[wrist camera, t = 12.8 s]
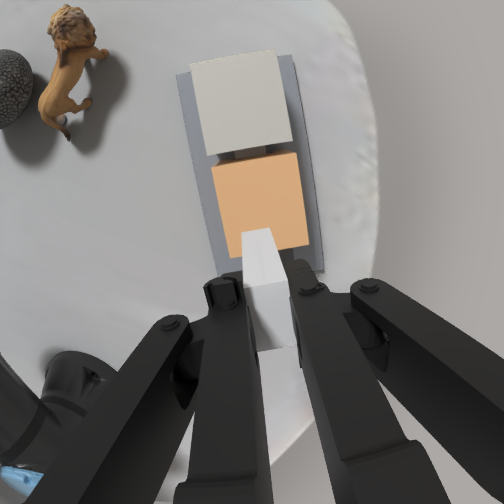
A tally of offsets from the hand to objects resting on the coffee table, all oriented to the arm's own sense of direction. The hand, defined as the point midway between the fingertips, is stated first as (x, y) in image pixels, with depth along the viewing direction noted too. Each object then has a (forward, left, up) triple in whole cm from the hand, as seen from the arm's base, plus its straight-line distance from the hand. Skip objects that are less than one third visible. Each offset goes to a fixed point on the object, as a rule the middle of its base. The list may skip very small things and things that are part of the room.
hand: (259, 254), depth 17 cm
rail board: (+1, +2, -18) cm, 18 cm away
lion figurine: (-17, +18, -19) cm, 31 cm away
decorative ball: (-26, +20, -18) cm, 38 cm away
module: (+1, 0, -17) cm, 17 cm away
